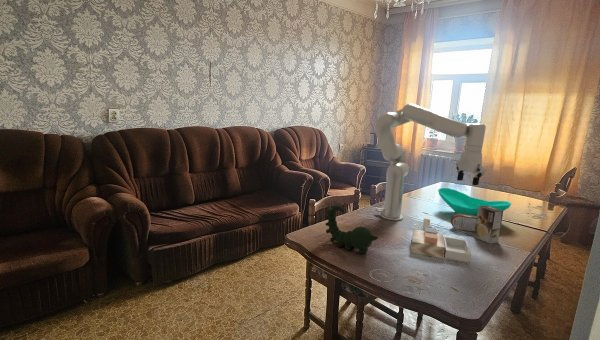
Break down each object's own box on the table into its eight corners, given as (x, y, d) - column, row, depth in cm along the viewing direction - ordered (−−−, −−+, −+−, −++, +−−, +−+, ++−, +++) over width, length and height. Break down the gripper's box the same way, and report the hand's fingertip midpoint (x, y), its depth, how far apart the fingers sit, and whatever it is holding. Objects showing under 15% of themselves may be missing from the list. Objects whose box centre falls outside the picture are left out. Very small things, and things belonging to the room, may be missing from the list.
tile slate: (424, 236, 141) (425, 231, 141) (424, 232, 146) (425, 227, 145) (436, 238, 139) (437, 233, 139) (435, 234, 144) (436, 229, 143)
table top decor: (426, 211, 193) (428, 191, 191) (446, 204, 211) (449, 185, 208) (497, 232, 164) (502, 208, 161) (514, 222, 181) (518, 200, 179)
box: (444, 258, 131) (445, 250, 130) (442, 244, 146) (443, 236, 145) (470, 263, 128) (471, 254, 127) (465, 248, 142) (466, 240, 142)
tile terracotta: (424, 242, 135) (425, 236, 134) (424, 237, 139) (425, 232, 139) (437, 244, 133) (437, 238, 132) (436, 239, 138) (437, 234, 137)
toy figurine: (321, 246, 140) (372, 261, 124) (321, 205, 138) (373, 215, 122) (333, 240, 148) (383, 253, 132) (333, 201, 145) (383, 209, 129)
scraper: (421, 239, 151) (423, 222, 149) (421, 228, 165) (423, 213, 164) (428, 240, 150) (430, 223, 148) (427, 229, 164) (429, 214, 163)
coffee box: (498, 242, 151) (504, 210, 148) (489, 244, 149) (495, 211, 146) (481, 235, 160) (486, 205, 156) (472, 236, 157) (477, 206, 154)
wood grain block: (410, 252, 136) (412, 241, 135) (411, 238, 150) (413, 229, 149) (443, 258, 131) (445, 247, 130) (441, 244, 146) (442, 234, 145)
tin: (480, 231, 164) (483, 216, 163) (481, 233, 161) (484, 218, 160) (449, 227, 169) (451, 212, 167) (449, 229, 166) (452, 213, 164)
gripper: (453, 146, 160) (448, 178, 164) (481, 151, 144) (475, 187, 147) (465, 146, 162) (460, 178, 166) (494, 151, 146) (487, 187, 150)
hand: (467, 182), depth 157 cm, fingers open, 9 cm apart
